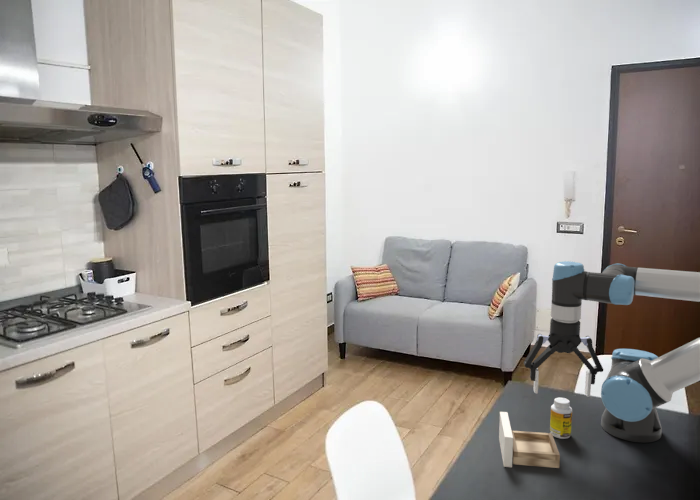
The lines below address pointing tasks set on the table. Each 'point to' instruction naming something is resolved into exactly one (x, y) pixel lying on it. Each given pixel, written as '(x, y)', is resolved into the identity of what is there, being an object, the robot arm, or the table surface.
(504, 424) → the backstop
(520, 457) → the beige shadow box
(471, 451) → the table surface
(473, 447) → the table surface
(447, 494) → the table surface
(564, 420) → the supplement bottle
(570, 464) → the table surface
